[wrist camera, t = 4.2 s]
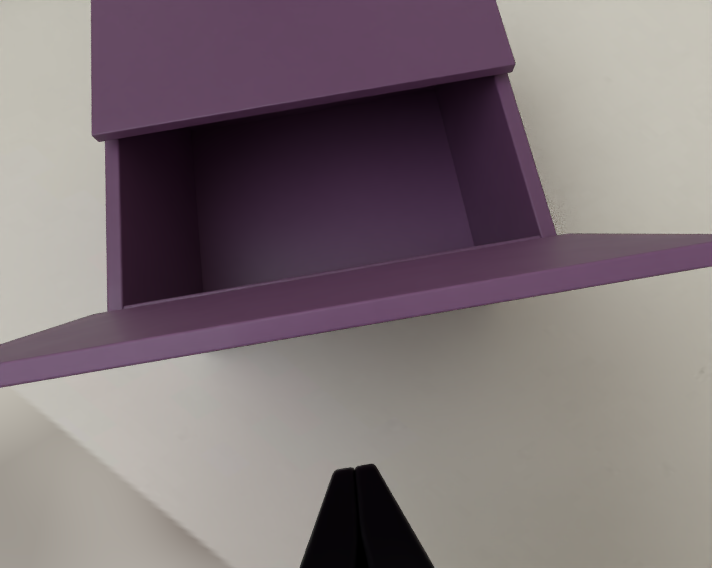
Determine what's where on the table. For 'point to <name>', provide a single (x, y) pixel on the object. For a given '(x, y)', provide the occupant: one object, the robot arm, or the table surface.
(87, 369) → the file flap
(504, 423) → the table surface
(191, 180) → the box
